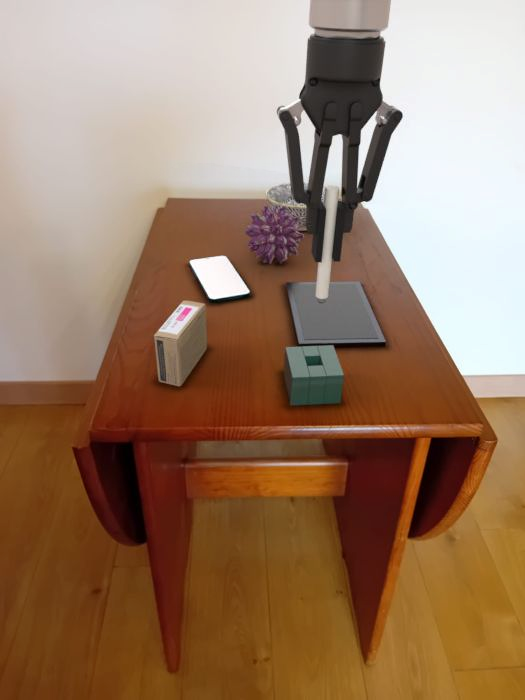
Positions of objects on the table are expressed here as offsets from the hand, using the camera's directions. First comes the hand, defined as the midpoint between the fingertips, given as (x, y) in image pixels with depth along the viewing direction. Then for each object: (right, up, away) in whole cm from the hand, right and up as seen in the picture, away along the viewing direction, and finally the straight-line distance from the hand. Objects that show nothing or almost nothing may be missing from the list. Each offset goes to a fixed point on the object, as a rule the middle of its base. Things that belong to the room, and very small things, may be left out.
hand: (325, 256), depth 65 cm
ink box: (-19, -14, +16) cm, 29 cm away
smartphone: (-16, +2, +37) cm, 41 cm away
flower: (-5, +7, +45) cm, 46 cm away
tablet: (+4, -5, +28) cm, 29 cm away
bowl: (+1, +18, +60) cm, 63 cm away
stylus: (0, -5, +4) cm, 6 cm away
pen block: (-1, -17, +12) cm, 21 cm away
